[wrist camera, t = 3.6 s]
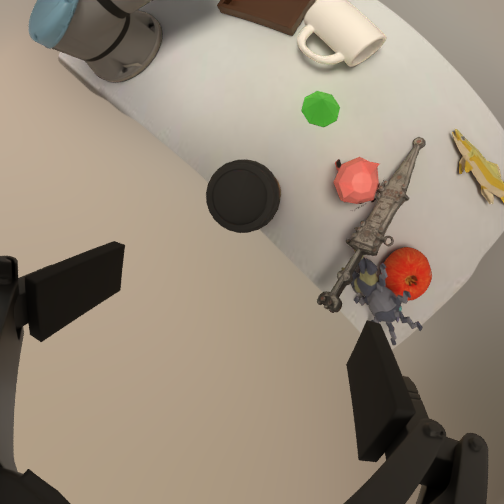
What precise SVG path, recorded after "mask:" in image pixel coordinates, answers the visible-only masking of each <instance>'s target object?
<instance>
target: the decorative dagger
mask: <svg viewBox="0 0 504 504" xmlns="http://www.w3.org/2000/svg"><path fill="white" fill-rule="evenodd" d="M413 143H414V148H413V149H412V151H411V152H410V153H409V155H408V156H407V157H406V159H405V161H403V162H402V164H401V166H400V168H399V169H398V170H397V171H396V172H395V174H394V176H393V177H392V178H391V180H390V181H389V182H388V181H385V183H384V187H382V186H380V187H379V189H380V190H376V193H377V192H379V194H377V198H378V201H377V203H376V205H375V207H374V209H373V210H372V212H371V214H370V216H369V217H368V218H367V220H366V222H364V221H361V223H360V224H361V227H356V228H355V230H356V233H353V234H352V240H350V239H348V240H346V243H347V244H348V245H349V246H351V247H352V248H353V249H355V250H356V251H355V253H354V255H353V256H352V257H351V258H350V261H349V262H348V264H347V265H346V267H345V269H344V270H341V271H339V272H338V273H337V278H338V281H337V282H336V284H335V286H334V287H333V289H332V290H331V292H323V293H321V294H320V296H319V297H318V299H317V303H318V304H319V305H322V304H323V305H324V307H325V308H326V309H329V311H330V312H332V313H334V312H338V311H339V310H340V309H341V307H342V301H341V300H340V298H339V296H340V295H341V293H342V291H343V290H344V288H345V287H346V285H349V284H350V283H351V282H352V281H353V276H352V275H353V273H354V271H355V269H356V267H357V266H358V264H359V262H360V260H361V259H362V256H363V255H372V256H376V255H377V253H378V250H379V248H380V246H381V244H382V243H383V242H384V244H385V245H386V246H391V245H393V242H394V239H393V238H392V237H391V236H386V237H384V235H385V232H386V230H387V228H388V226H389V224H390V223H391V221H392V219H393V217H394V215H395V213H396V211H397V210H398V209H399V207H400V206H401V205H402V204H403V203H404V202H405V201H407V200H409V197H408V196H407V195H406V191H407V188H408V185H409V183H410V178H411V174H412V171H413V169H414V165H415V161H416V158H417V155H418V153H419V150H420V149H421V148H423V147H424V146H425V140H424V139H423V138H421V137H418V138H416V139H415V140H414V142H413ZM387 238H391V243H390V244H388V245H387V244H386V239H387Z"/></svg>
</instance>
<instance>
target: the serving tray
mask: <svg viewBox="0 0 504 504" xmlns="http://www.w3.org/2000/svg"><path fill="white" fill-rule="evenodd" d="M314 2H315V0H220V2H219V3H218V4H217V7H218V8H219V10H220V12H221V13H224V14H228V15H231V16H235V17H238V18H242V19H245V20H248V21H251V22H254V23H257V24H260V25H263V26H266V27H269V28H272V29H275V30H277V31H280V32H283V33H285V34H288V35H290V36H293V34H294V33H295V31H296V29H297V28H298V26H299V25H300V23H301V22H302V20H303V19H304V17H305V15H306V13H307V12H308V10H309V9H310V8H311V6H312V5H313V3H314Z"/></svg>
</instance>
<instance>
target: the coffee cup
mask: <svg viewBox="0 0 504 504" xmlns="http://www.w3.org/2000/svg"><path fill="white" fill-rule="evenodd" d="M280 196H281V189H280V185H279V183H278V181H277V179H276V178H275V177H274V175H273V174H272V172H271V171H270V170H268V169H267V168H266V167H265V166H264V165H262V164H260V163H258V162H256V161H251V160H236V161H232V162H229V163H226V164H225V165H223V166H222V167H220V168H219V169H218V170H217V171H216V172H215V173H214V174H213V175H212V177H211V179H210V181H209V183H208V187H207V192H206V199H207V205H208V209H209V211H210V213H211V215H212V216H213V218H214V220H216V221H217V222H218V223H219V224H220V225H221V226H222V227H224V228H226V229H228V230H230V231H234V232H238V233H247V232H251V231H254V230H258V229H260V228H262V227H264V226H265V225H267V224H268V223H269V222H270V221H271V220H272V219H273V217H274V215H275V214H276V212H277V210H278V207H279V203H280Z"/></svg>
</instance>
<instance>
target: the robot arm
mask: <svg viewBox="0 0 504 504" xmlns="http://www.w3.org/2000/svg"><path fill="white" fill-rule="evenodd" d="M151 1H152V0H37V2H36V4H35V6H34V8H33V11H32V13H31V16H30V20H29V34H30V36H31V38H32V39H33V40H34V41H35V42H37V43H40V44H42V45H44V46H45V47H47V48H52V49H55V50H57V51H60V52H63V53H66V54H68V55H71V56H73V57H76V58H79V59H81V60H84V61H85V62H86V63H87V64H88V65H89V67H90V68H91V69H92V70H93V71H94V73H95V74H96V75H97V76H98V77H100V78H102V79H104V80H107V81H110V82H121V81H125V80H128V79H130V78H132V77H134V76H136V75H137V74H139V73H140V72H141V71H143V70H144V69H145V68H146V67H147V66H148V65H149V64H150V62H151V61H152V60H153V59H154V57H155V55H156V54H157V52H158V50H159V47H160V44H161V41H162V29H161V26H160V24H159V22H158V21H157V20H156V19H155V18H154V17H153V16H152V15H150V14H148V13H146V12H143V11H138V9H139V8H141V7H143V6H144V5H146V4H147V3H149V2H151ZM124 249H125V245H124V244H120V243H118V242H115V241H114V242H111V243H108V244H106V245H103V246H100V247H97V248H94V249H92V250H89V251H86V252H84V253H81V254H79V255H76V256H74V257H71V258H69V259H66V260H63V261H61V262H58V263H56V264H53V265H49V266H47V267H44V268H42V269H39V270H37V271H35V272H32V273H30V274H27V275H25V276H22V277H20V278H18V261H17V259H16V258H14V257H11V256H0V504H70V503H69V502H68V501H67V500H66V499H65V498H64V497H63V496H62V495H61V494H60V493H59V492H58V490H56V489H55V488H53V487H52V486H50V485H49V484H48V483H46V482H45V481H44V480H42V479H41V478H40V477H38V476H37V475H36V474H34V473H33V472H32V471H31V470H29V469H28V470H27V471H26V472H25V473H24V474H22V473H19V472H17V468H16V466H15V462H14V456H13V426H14V423H13V422H14V406H15V392H16V383H17V374H18V366H19V359H20V353H21V347H22V341H23V335H24V330H23V326H24V325H26V324H27V323H29V330H30V335H31V336H33V337H34V338H36V339H37V340H39V341H40V342H42V341H44V340H45V339H47V338H48V337H50V336H51V335H52V334H54V333H56V332H57V331H59V330H60V329H62V328H63V327H64V326H66V325H68V324H69V323H71V322H72V321H74V320H75V319H77V318H78V317H79V316H81V315H83V314H84V313H86V312H87V311H89V310H90V309H92V308H93V307H95V306H97V305H98V304H100V303H101V302H103V301H104V300H106V299H108V298H109V297H111V296H112V295H114V294H115V293H117V292H119V291H120V288H121V277H122V267H123V258H124ZM346 365H347V371H348V377H349V384H350V391H351V398H352V406H353V413H354V422H355V430H356V439H357V448H358V458H359V460H362V461H371V462H377V461H378V460H379V458H380V457H381V456H382V455H383V454H384V453H385V456H386V461H385V463H384V464H383V465H382V466H381V467H380V468H379V469H378V470H377V471H376V472H375V473H374V474H373V475H372V477H371V478H370V479H369V480H368V481H367V482H366V483H365V484H364V485H363V486H362V487H361V488H360V489H359V490H358V491H357V492H356V493H355V494H354V495H352V497H350V498H349V499H348V500H347V501H346V502H345V503H344V504H405V503H406V502H407V500H408V499H409V498H410V496H411V495H412V493H413V492H414V491H415V489H416V488H417V486H418V485H419V484H421V485H422V486H421V490H420V493H419V496H418V499H417V502H416V504H486V499H487V484H488V447H487V444H486V442H485V441H484V439H483V438H482V437H481V436H479V435H477V434H474V433H467V434H466V435H464V436H463V437H462V439H461V440H460V441H457V440H454V439H451V438H448V437H446V432H445V429H444V428H443V427H442V425H440V424H439V423H438V422H436V421H434V420H432V419H429V418H428V415H427V412H426V410H425V407H424V405H423V402H422V401H421V398H420V395H419V394H418V390H417V388H416V386H415V384H414V383H413V382H412V381H411V379H410V378H409V377H405V376H402V374H401V371H400V369H399V366H398V364H397V362H396V359H395V357H394V354H393V352H392V350H391V347H390V345H389V342H388V340H387V338H386V336H385V333H384V331H383V329H382V326H381V324H379V323H376V322H372V321H368V320H367V321H366V323H365V326H364V328H363V330H362V332H361V335H360V337H359V339H358V341H357V344H356V346H355V348H354V350H353V352H352V354H351V356H350V358H349V360H348V362H347V364H346Z"/></svg>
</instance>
